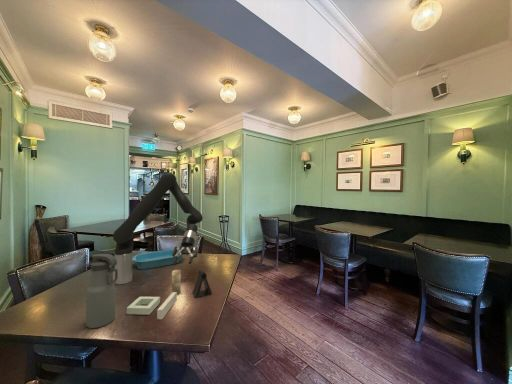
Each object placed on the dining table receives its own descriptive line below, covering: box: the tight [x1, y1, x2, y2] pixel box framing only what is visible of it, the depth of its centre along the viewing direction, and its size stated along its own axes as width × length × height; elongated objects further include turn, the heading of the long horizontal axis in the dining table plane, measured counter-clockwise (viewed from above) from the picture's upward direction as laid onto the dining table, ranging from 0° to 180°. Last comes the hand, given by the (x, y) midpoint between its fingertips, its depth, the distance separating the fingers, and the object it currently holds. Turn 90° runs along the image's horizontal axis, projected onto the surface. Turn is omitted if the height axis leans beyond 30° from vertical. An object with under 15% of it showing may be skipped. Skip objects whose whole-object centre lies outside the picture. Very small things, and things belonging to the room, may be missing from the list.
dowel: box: [171, 269, 182, 296], centre depth 113 cm, size 4×4×12 cm
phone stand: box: [192, 269, 213, 299], centre depth 113 cm, size 9×6×12 cm, turn 121°
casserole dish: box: [132, 248, 184, 270], centre depth 161 cm, size 37×22×7 cm, turn 122°
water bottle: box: [85, 253, 118, 329], centre depth 89 cm, size 10×10×28 cm
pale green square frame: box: [126, 296, 161, 316], centre depth 99 cm, size 10×10×3 cm
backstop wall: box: [156, 292, 178, 320], centre depth 98 cm, size 2×16×4 cm, turn 179°
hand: (182, 263), depth 122 cm, fingers open, 8 cm apart
